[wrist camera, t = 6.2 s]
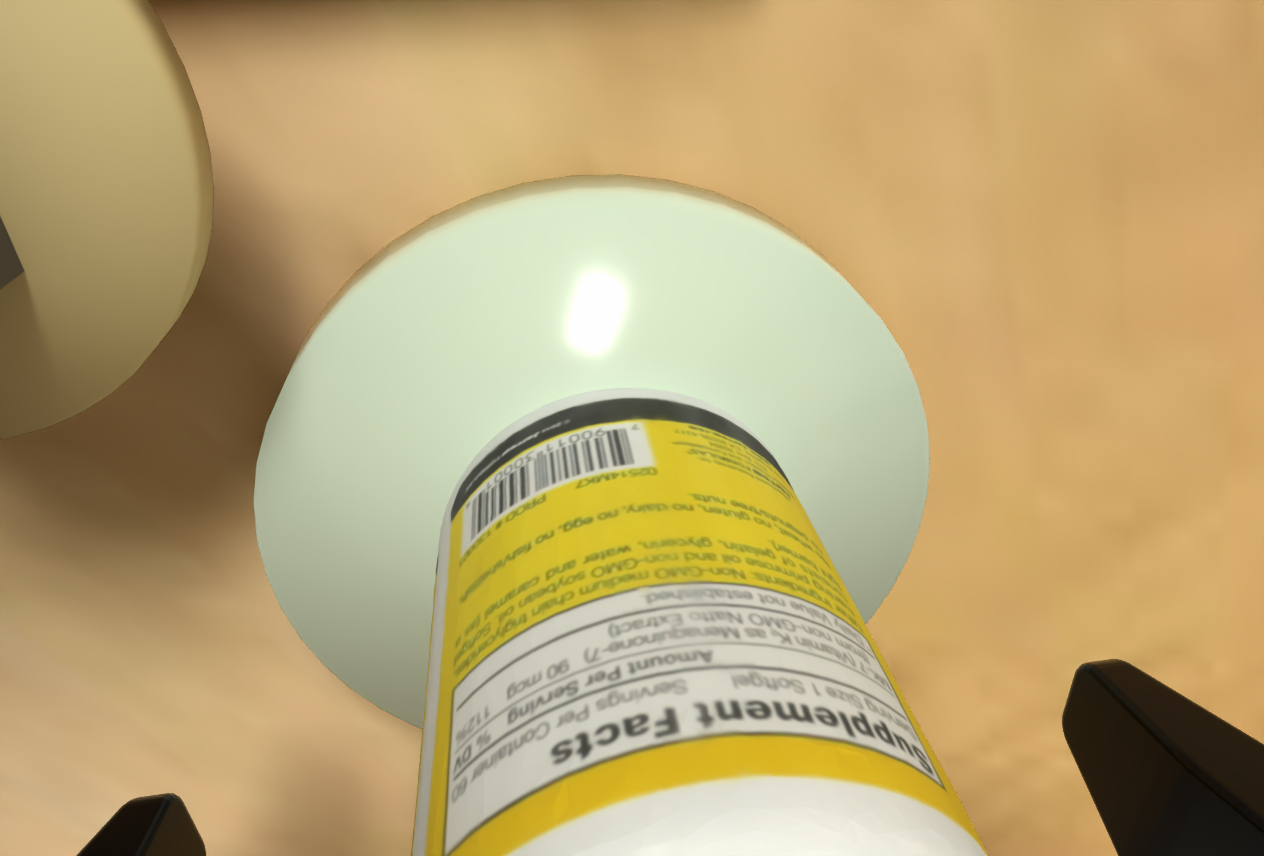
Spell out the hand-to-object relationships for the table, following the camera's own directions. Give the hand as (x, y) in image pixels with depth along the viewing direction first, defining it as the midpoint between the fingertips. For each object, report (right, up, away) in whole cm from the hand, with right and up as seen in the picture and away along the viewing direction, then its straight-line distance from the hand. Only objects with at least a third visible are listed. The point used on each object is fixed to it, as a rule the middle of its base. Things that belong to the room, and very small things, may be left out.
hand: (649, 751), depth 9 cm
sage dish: (-1, +2, +4) cm, 5 cm away
